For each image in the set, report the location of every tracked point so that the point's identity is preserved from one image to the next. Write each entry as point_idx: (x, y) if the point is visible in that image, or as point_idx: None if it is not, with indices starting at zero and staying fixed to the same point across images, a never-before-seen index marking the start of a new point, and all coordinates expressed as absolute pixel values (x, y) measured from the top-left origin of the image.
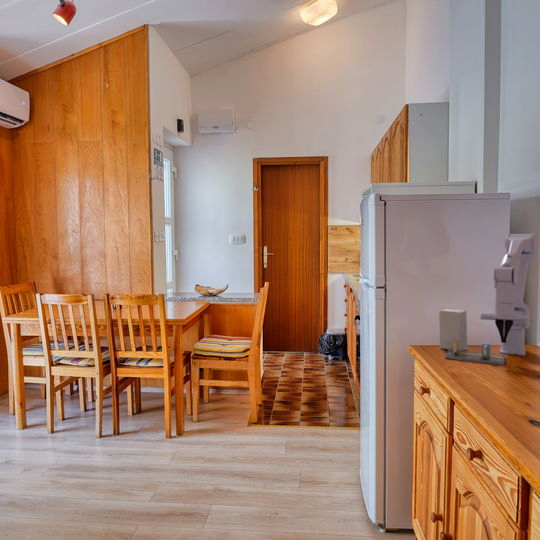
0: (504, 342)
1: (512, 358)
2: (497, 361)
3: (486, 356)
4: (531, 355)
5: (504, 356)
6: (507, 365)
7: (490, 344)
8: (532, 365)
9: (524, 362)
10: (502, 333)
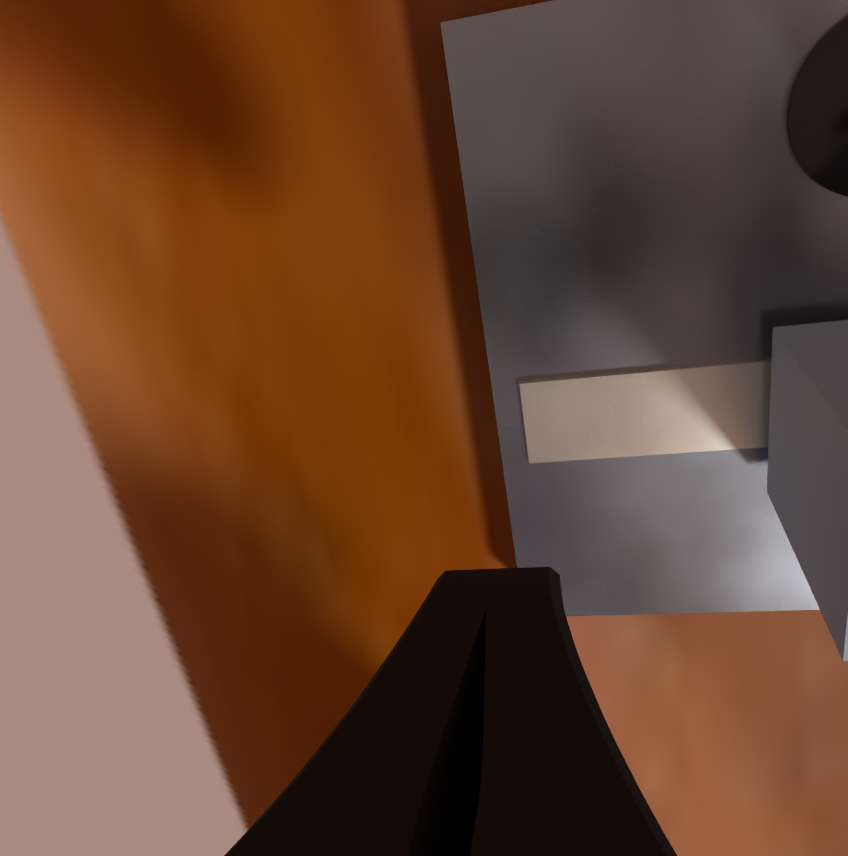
0: (469, 576)
1: None
2: (571, 18)
3: None
4: None
5: (517, 520)
6: (390, 88)
7: (832, 606)
8: (93, 356)
9: (235, 470)
10: (502, 771)
